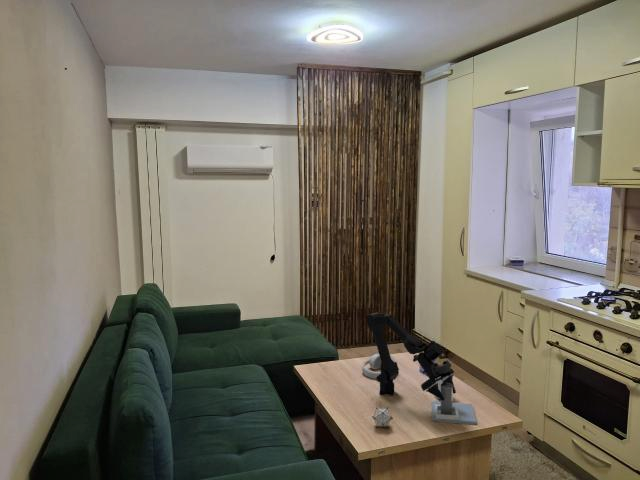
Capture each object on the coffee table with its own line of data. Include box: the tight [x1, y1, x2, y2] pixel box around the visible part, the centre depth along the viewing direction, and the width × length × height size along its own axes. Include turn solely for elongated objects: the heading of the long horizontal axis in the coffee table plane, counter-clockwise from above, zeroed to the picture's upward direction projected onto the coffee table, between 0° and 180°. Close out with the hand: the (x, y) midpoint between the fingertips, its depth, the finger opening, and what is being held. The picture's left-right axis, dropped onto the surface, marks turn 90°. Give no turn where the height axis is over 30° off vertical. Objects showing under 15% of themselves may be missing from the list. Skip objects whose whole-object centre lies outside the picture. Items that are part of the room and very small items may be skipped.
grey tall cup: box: [440, 383, 454, 415], centre depth 204 cm, size 5×5×13 cm
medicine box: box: [418, 359, 436, 377], centre depth 250 cm, size 8×4×9 cm, turn 25°
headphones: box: [361, 353, 396, 380], centre depth 252 cm, size 18×8×20 cm
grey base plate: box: [430, 400, 478, 425], centre depth 207 cm, size 18×16×3 cm
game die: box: [371, 406, 394, 429], centre depth 197 cm, size 9×8×10 cm
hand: (449, 396), depth 203 cm, fingers open, 9 cm apart
